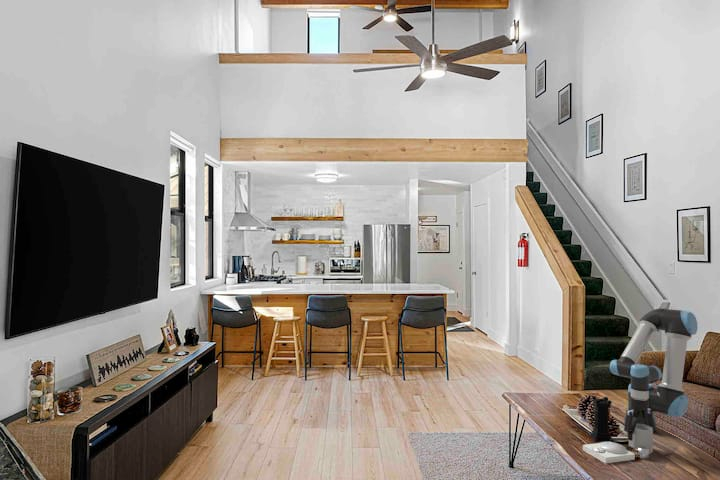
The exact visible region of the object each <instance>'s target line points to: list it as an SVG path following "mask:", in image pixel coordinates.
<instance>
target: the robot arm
mask: <svg viewBox="0 0 720 480" xmlns="http://www.w3.org/2000/svg"><path fill="white" fill-rule="evenodd" d="M658 331H664V335H665V336H666V346H665V355H664V363H663V369H662V371H661V369H660V368H659V367H658V366H655V365H645V364H639V363H638V362H639V359H640V357H641V356H642V354H643V352H644V350H645V349H646V348H647V346H648V343H649V342H650V340H651V339H652V337H653V335H656V333H658ZM697 332H698V321H697V317H696V315H695V314H694V313H693V312H691V311H687V310H680V309H669V308H656V309H652V310H650V311H648V312H647V313H645V314H644V315H643V316H642V317H641V318H640V319H639V321H638V322H637V329H636V330H635V332H634V333H633V335H632V337H631V339H630V340H629V342H628V344H627V346H626V347H625V348H624V351H623V352H622V354H621V355H620V357H619V359H613V360H611V361H610V363H609V371H610V372H611V374H613V375H615V376H619V377H623V378H628V379H630V383H629V384H628V387H627V388H628V389H627V390H628V391H627V396H628V397H627V399H628V400H627V407H628V408H627V409H626V411H625V412H626V413H625V414H626V415H625V418H624V419H623V420H624V421H623V422H624V423H623V424H624V428H623V431H624V432H626V433H627V432H628V436H627V440H628V446H629V447H630V446H631V448H632V447H633V448H635V434H634V433H633V432H634V430H635V427H636V424H644V425H647V426H650V427H652V428H653V433H654V432H657V431H658V424H657V423H656V419H655V415H654V412H656V413H659V414H662V415H667V416H668V417H675V418H681V417H682V416H683V417H684V415H685V414H686V413H687V412H686V411H687V410H688V406H689V398H688V396H687V395H686V394H685V390H684V388H682V385H683V377H684V369H685V360H686V352H687V345H688V341H690V340H691V339H692V336H693V335H696V334H697ZM660 380H661V383H659V384H658V385H657V386H656V387H657V388H656V387H655V386H654V384H653V383H657V382H658V381H660Z"/></svg>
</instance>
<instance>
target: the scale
mask: <svg viewBox="0 0 720 480" xmlns="http://www.w3.org/2000/svg"><path fill="white" fill-rule="evenodd" d="M582 451H583V452H585V453H587V454H589V455H590V456H592V457H593V458H595V459H598V460H599V461H600V462H603V463H604V464H611V463H618V462H627V461H634V460H635V459H636V458H635V457H636V456H635V455H636V454H635V453H633V451H632V452H631V450H628V449H627V448H626V447H625V446H624V445H622V444H620V443H617V442H614V441H613V442H596V443H589V444H583V445H582Z"/></svg>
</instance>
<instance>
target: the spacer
mask: <svg viewBox="0 0 720 480" xmlns="http://www.w3.org/2000/svg"><path fill="white" fill-rule="evenodd" d="M638 454H639V455H640V458H639V459H641V460H649V459H650V454H649V449H648V448H646V447H641V446H640V447H638V452H637V455H638Z"/></svg>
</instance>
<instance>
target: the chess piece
mask: <svg viewBox="0 0 720 480" xmlns="http://www.w3.org/2000/svg"><path fill="white" fill-rule="evenodd" d="M591 399H592V404H594V407H593V410H594V427H592V430H591V433H590V434H589V435H590V437H591V438H592V439H593V441H594V442H596V443H601V442H613V443H614V441H613V440H612V436H611V433H610V431H609V415H610V411H609V408H611V405H612V404H613V401H612V400H609V397H608V396H603V398H597V397H596V395H591ZM610 439H611V440H610Z"/></svg>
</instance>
